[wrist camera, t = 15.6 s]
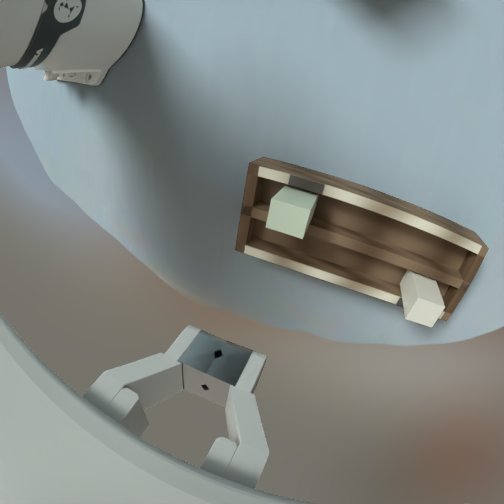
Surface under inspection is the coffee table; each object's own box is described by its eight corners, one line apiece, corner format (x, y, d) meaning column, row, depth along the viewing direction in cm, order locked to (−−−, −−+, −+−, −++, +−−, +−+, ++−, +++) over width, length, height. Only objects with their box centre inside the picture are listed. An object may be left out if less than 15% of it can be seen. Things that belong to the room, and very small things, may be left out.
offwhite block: (399, 283, 25) (405, 318, 20) (409, 264, 24) (418, 297, 19) (422, 292, 24) (431, 327, 20) (433, 273, 23) (445, 307, 18)
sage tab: (283, 205, 26) (265, 227, 21) (288, 182, 25) (271, 198, 20) (313, 215, 25) (302, 239, 21) (319, 191, 24) (310, 210, 19)
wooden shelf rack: (249, 234, 31) (234, 250, 28) (263, 157, 27) (248, 163, 23) (439, 299, 26) (447, 322, 23) (475, 232, 21) (489, 249, 18)
